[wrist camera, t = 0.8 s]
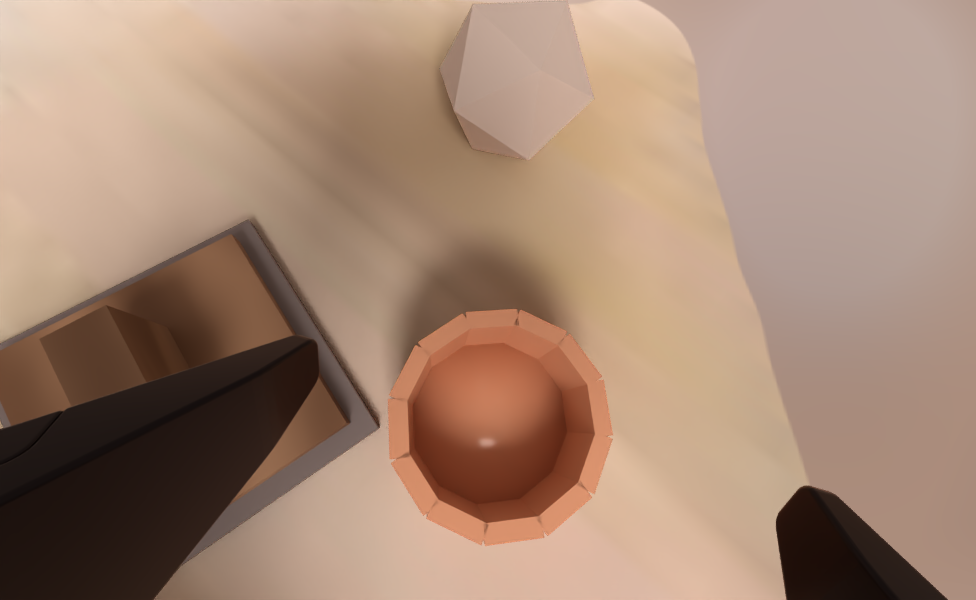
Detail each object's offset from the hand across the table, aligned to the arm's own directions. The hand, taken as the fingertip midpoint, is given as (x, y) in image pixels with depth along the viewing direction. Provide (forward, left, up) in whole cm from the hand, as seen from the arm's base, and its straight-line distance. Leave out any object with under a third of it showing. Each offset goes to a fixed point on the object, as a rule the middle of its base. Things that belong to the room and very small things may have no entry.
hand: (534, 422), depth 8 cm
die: (+13, +15, -16) cm, 25 cm away
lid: (-11, +10, -15) cm, 21 cm away
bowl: (+1, 0, -16) cm, 16 cm away
